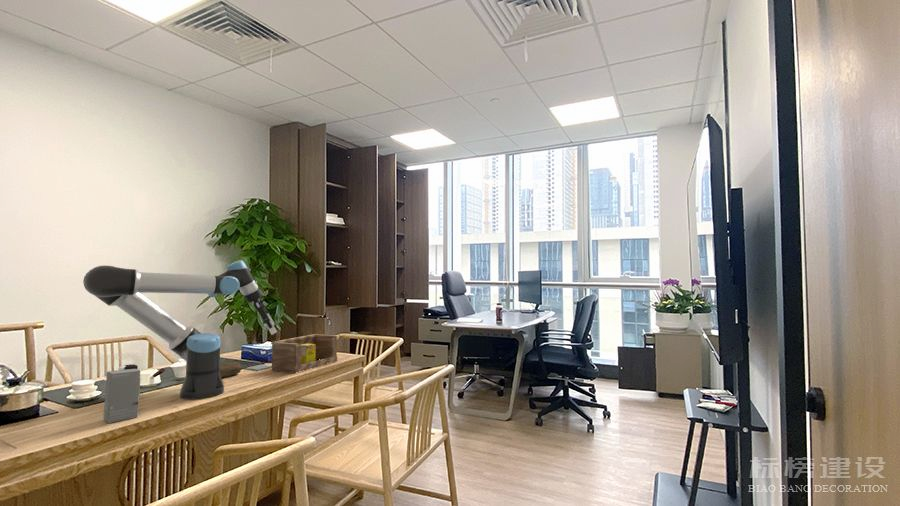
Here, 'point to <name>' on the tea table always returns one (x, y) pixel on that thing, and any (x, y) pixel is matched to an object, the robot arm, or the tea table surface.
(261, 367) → the pad
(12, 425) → the tea table surface
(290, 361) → the crate
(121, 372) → the skincare box
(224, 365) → the stone weight
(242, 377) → the tea table surface
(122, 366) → the medicine bottle
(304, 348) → the supplement box
